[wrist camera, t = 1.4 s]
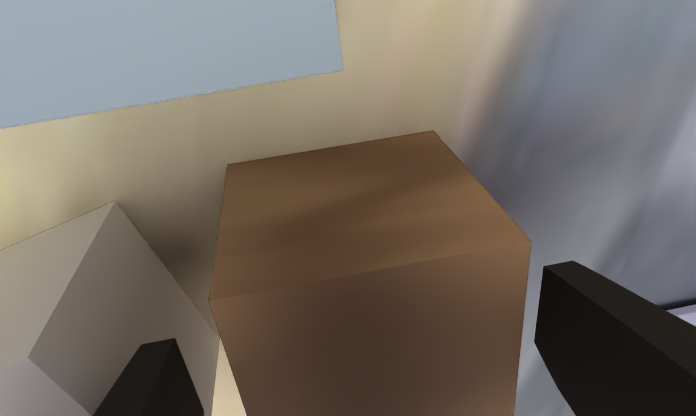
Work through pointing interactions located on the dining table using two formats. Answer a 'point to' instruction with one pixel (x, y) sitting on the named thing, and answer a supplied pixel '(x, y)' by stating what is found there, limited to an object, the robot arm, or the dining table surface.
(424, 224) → the walnut cube
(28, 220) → the dining table surface
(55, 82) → the base block
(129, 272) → the grey cube
